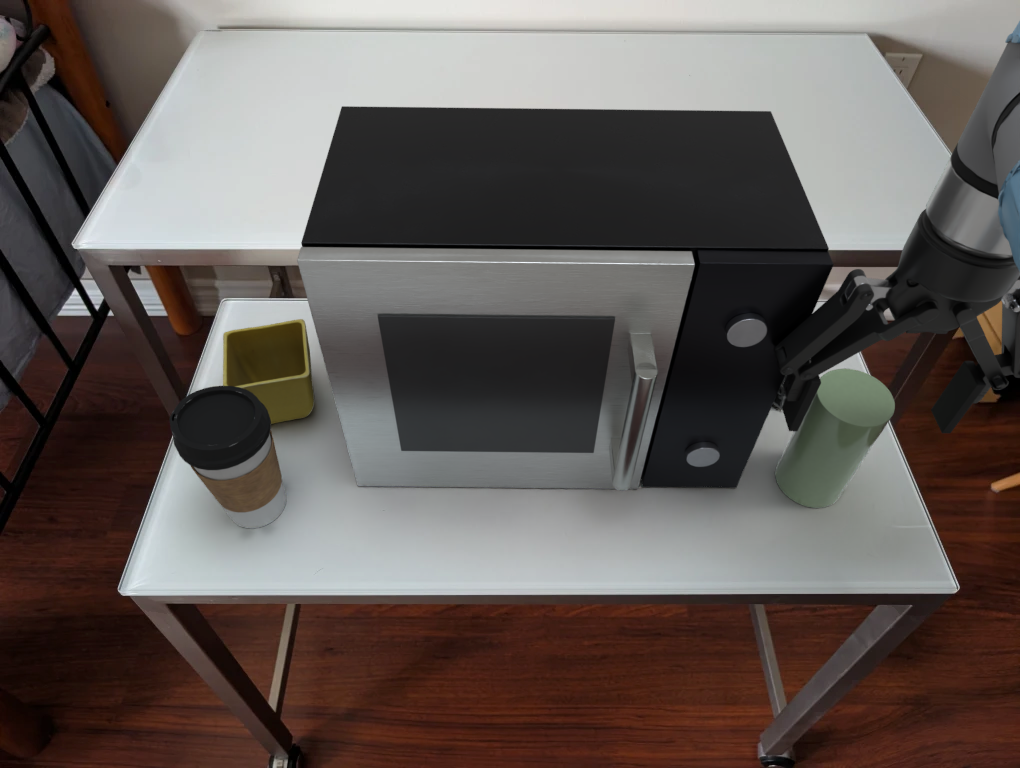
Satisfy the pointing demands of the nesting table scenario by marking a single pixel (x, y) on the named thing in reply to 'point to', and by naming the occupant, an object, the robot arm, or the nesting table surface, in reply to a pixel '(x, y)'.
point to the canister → (834, 437)
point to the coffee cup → (231, 452)
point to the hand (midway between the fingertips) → (864, 420)
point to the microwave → (609, 233)
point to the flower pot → (272, 367)
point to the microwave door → (496, 361)
